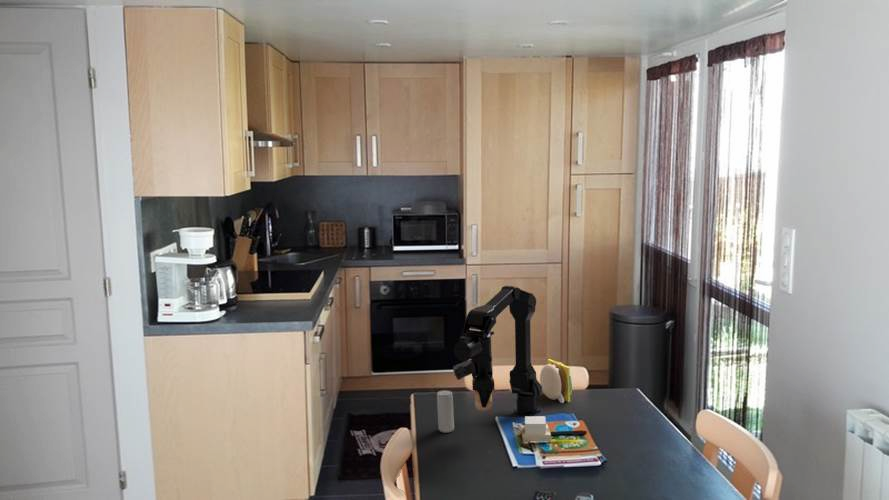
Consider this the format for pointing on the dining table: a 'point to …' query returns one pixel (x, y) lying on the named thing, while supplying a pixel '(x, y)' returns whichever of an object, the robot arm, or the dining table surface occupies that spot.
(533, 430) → the white block
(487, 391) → the robot arm
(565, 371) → the hamburger
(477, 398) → the tan cylinder
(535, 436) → the birch slab
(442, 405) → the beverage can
